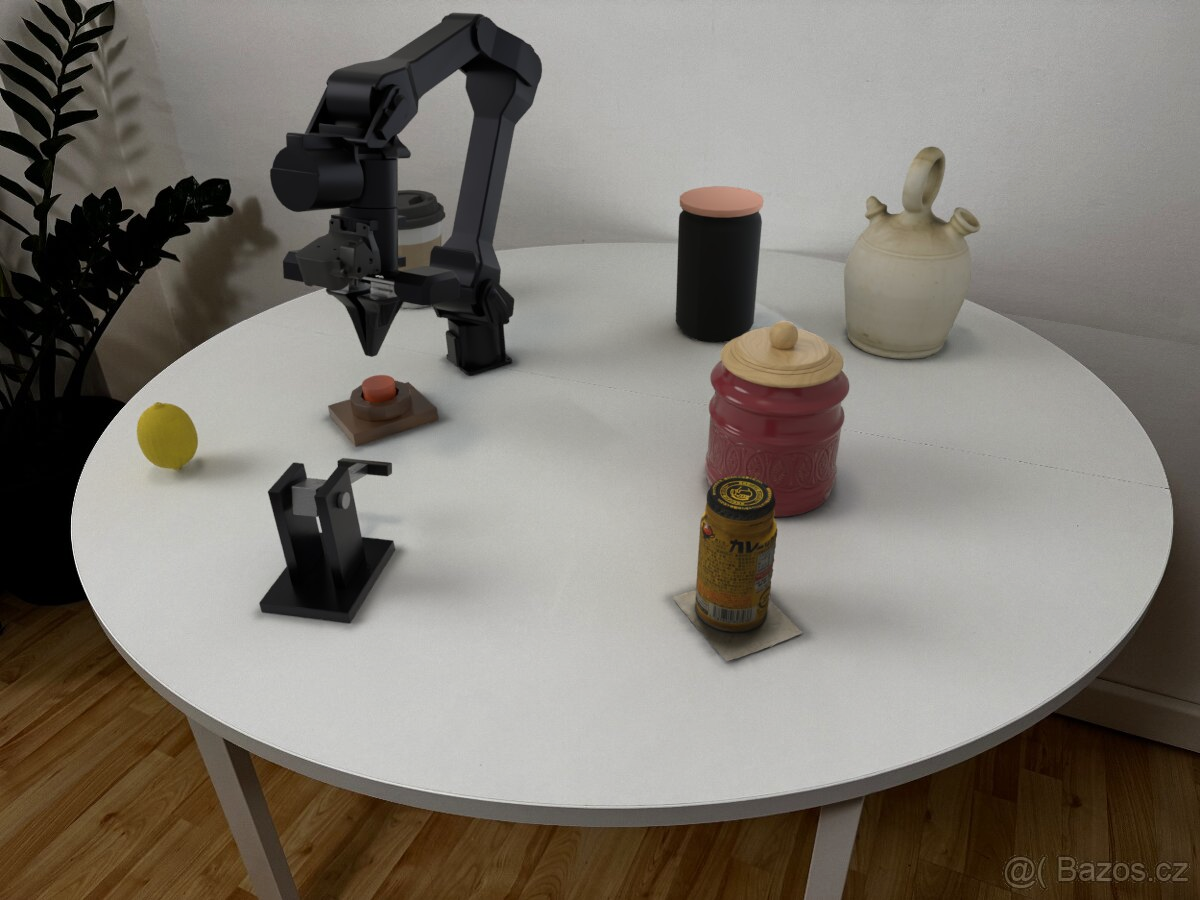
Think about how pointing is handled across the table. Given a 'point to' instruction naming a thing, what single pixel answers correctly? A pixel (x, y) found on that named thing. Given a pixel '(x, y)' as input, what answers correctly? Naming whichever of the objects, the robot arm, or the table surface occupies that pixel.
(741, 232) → the coffee jar
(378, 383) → the button
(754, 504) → the condiment
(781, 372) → the kitchen canister
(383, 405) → the button block
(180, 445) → the lemon
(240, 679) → the table surface
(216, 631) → the table surface
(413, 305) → the coffee cup
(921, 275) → the jug
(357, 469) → the control lever
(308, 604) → the lever bracket
